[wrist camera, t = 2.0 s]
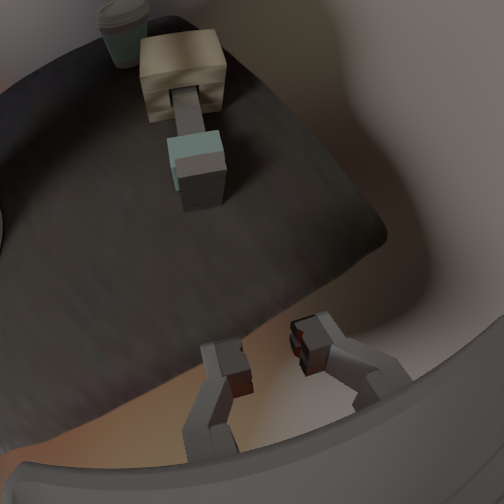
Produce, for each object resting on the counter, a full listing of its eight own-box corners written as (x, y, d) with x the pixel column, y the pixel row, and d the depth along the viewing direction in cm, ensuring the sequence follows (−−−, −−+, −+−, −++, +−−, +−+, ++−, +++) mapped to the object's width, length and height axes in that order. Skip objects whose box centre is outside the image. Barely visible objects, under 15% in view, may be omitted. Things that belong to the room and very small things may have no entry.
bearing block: (149, 123, 33) (139, 77, 25) (147, 82, 35) (140, 39, 26) (221, 111, 35) (226, 64, 27) (210, 72, 37) (214, 28, 28)
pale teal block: (175, 191, 31) (170, 167, 25) (171, 164, 31) (166, 138, 26) (222, 182, 32) (225, 158, 26) (216, 156, 32) (218, 130, 27)
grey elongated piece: (184, 211, 31) (177, 178, 23) (167, 98, 34) (162, 56, 26) (221, 204, 32) (227, 169, 24) (197, 93, 35) (198, 51, 27)
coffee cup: (129, 42, 37) (121, -7, 25) (164, 50, 37) (160, -4, 25) (97, 69, 34) (82, 17, 23) (132, 78, 35) (120, 20, 23)
